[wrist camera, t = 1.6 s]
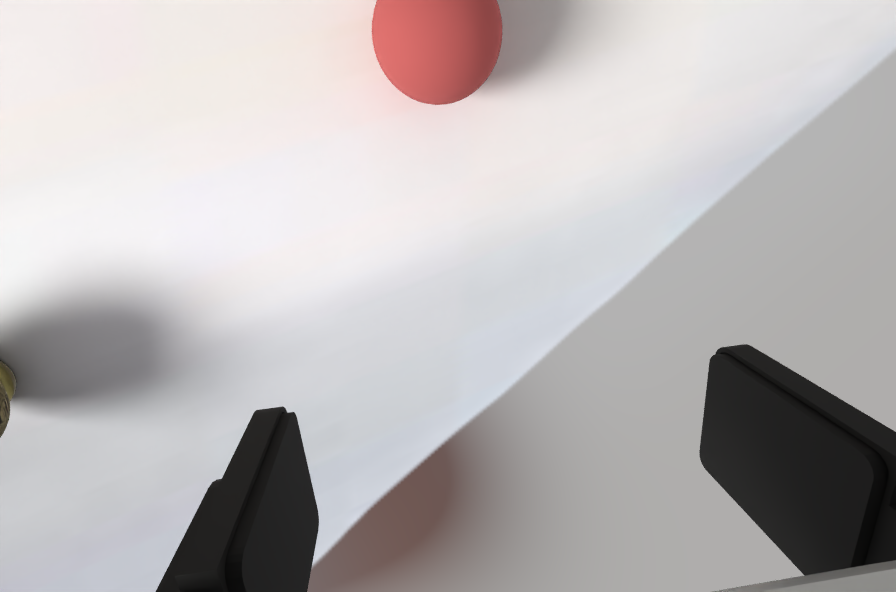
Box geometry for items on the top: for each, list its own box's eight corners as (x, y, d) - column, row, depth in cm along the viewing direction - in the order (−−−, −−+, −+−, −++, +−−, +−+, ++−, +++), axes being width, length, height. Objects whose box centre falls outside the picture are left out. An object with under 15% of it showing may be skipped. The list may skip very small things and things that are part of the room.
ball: (364, -16, 24) (358, -61, 18) (483, -27, 24) (512, -73, 18) (383, 112, 26) (381, 108, 20) (491, 101, 26) (520, 93, 20)
